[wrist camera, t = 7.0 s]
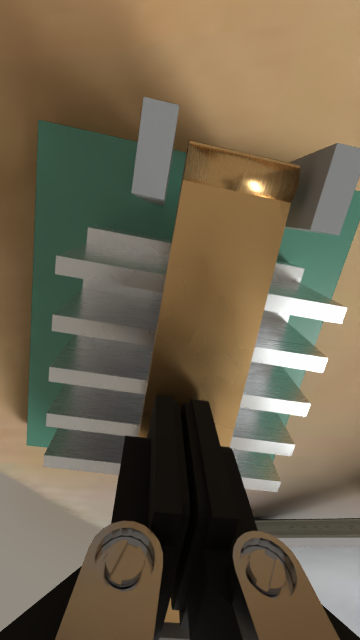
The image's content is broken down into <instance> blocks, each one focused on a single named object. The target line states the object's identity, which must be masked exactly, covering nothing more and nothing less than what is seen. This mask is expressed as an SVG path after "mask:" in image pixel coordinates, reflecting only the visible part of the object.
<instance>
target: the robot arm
mask: <svg viewBox="0 0 360 640" xmlns="http://www.w3.org/2000/svg"><path fill="white" fill-rule="evenodd" d="M170 598H171V607H172V610H179V620H180V629H189V636H190V640H360V638H359V637H358V636H357V635H356V634H355V633H354V632H352V631H351V630H350V629H349V628H348V627H347V626H346V625H344V624H343V623H342V622H341V621H340V620H339V619H338V618H336V617H335V616H334V615H333V614H332V613H331V612H330V611H328V610H327V609H326V608H325V607H324V606H323V605H322V604H321V603H320V601H319V599H318V597H317V595H316V593H315V591H314V589H313V587H312V586H311V584H310V582H309V580H308V578H307V576H306V574H305V572H304V570H303V568H302V567H301V565H300V563H299V561H298V560H297V558H296V557H295V555H294V554H293V552H292V551H291V550H290V549H289V548H288V547H287V546H286V545H285V544H284V543H283V542H282V541H280V540H279V539H277V538H276V537H274V536H273V535H270V534H268V533H265V532H262V531H258V530H257V526H256V523H255V520H254V517H253V514H252V510H251V507H250V504H249V501H248V497H247V494H246V491H245V488H244V485H243V481H242V478H241V475H240V472H239V468H238V465H237V462H236V459H235V456H234V453H233V450H232V449H231V448H230V447H224V446H220V442H219V438H218V434H217V430H216V427H215V423H214V419H213V415H212V411H211V408H210V404H209V401H204V400H196V399H191V400H190V402H189V403H184V404H183V407H182V412H180V403H179V402H175V401H174V398H173V396H165V395H157V394H156V396H155V400H154V405H153V410H152V416H151V421H150V427H149V432H148V437H147V438H143V437H134V436H125V440H124V446H123V452H122V459H121V465H120V471H119V478H118V484H117V490H116V497H115V503H114V509H113V516H112V522H111V524H110V525H109V526H107V527H105V528H103V529H102V530H101V531H100V532H99V533H98V534H97V535H96V536H95V537H94V539H93V541H92V543H91V545H90V546H89V548H88V551H87V554H86V556H85V560H84V562H83V565H82V566H81V567H80V568H79V569H77V570H76V571H75V572H74V573H72V574H71V575H70V576H69V577H68V578H66V579H65V580H64V581H62V582H61V583H60V584H59V585H58V586H56V587H55V588H54V589H53V590H52V591H50V592H49V593H48V594H47V595H45V596H44V597H43V598H42V599H40V600H39V601H38V602H37V603H35V604H34V605H33V606H32V607H30V608H29V609H28V610H27V611H25V612H24V613H23V614H22V615H21V616H19V617H18V618H17V619H16V620H14V621H13V622H12V623H11V624H9V625H8V626H7V627H6V628H4V629H3V630H2V631H1V632H0V640H159V639H160V636H161V632H162V628H163V624H164V621H165V617H166V613H167V609H168V606H169V602H170Z"/></svg>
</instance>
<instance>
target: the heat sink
mask: <svg viewBox="0 0 360 640" xmlns="http://www.w3.org/2000/svg"><path fill="white" fill-rule="evenodd" d="M171 241H172V240H170V239H165V238H160V237H155V236H149V235H144V234H139V233H134V232H129V231H123V230H118V229H113V228H108V227H103V226H92V227H88V232H87V244H84V245H82V246H79V247H77V248H74V249H71V250H69V251H66V252H64V253H61V254H59V255H56V264H55V274H58V275H64V276H69V277H75V278H81V279H83V287H82V288H81V289H80V290H79V291H78V292H77V293H76V294H75V295H74V296H72V297H71V298H70V299H69V300H68V301H67V302H66V303H65V304H64V305H63V306H61V307H60V308H59V309H58V310H57V311H56V312H55V313H54V314H53V315H52V331H56V332H62V333H69V334H74V335H73V336H72V337H71V339H70V340H69V341H68V343H67V344H66V345H65V347H64V348H63V349H62V351H61V352H60V353H59V355H58V356H57V357H56V359H55V360H54V361H53V363H52V364H51V365H50V367H49V381H50V382H57V383H64V385H63V386H62V388H61V390H60V392H59V393H58V395H57V397H56V398H55V400H54V402H53V403H52V405H51V407H50V408H49V410H48V412H47V416H46V426H47V427H56V428H57V430H56V432H55V434H54V436H53V438H52V440H51V442H50V444H49V446H48V448H47V450H46V452H45V454H44V466H43V467H50V468H59V469H69V470H78V471H87V472H96V473H105V474H114V475H119V471H120V465H121V459H122V452H123V446H124V440H125V436H134V437H138V432H139V426H140V420H141V415H142V409H143V403H144V397H145V391H146V386H147V380H148V374H149V368H150V362H151V357H152V351H153V345H154V339H155V333H156V328H157V322H158V316H159V310H160V305H161V299H162V293H163V287H164V281H165V276H166V270H167V264H168V258H169V252H170V247H171ZM304 270H305V269H304V268H302V267H299V266H297V265H294V264H292V263H289V262H285V261H280V260H277V261H276V265H275V269H274V273H273V277H272V281H271V285H270V288H269V292H268V296H267V300H266V304H265V308H264V312H263V316H262V320H261V324H260V328H259V332H258V336H257V340H256V344H255V348H254V352H253V356H252V360H251V364H250V368H249V372H248V376H247V380H246V384H245V388H244V392H243V396H242V400H241V404H240V408H239V412H238V416H237V420H236V424H235V428H234V431H233V435H232V439H231V443H230V448H231V449H232V450H233V453H234V456H235V459H236V462H237V465H238V468H239V472H240V475H241V478H242V481H243V485H244V488H245V489H252V490H262V491H271V492H277V491H278V489H279V486H280V484H281V480H280V478H279V476H278V473H277V471H276V469H275V466H274V464H273V462H272V459H271V457H270V455H269V454H276V455H285V456H291V455H292V452H293V449H294V447H295V443H294V442H293V440H292V438H291V436H290V435H289V433H288V431H287V429H286V427H285V426H284V424H283V422H282V420H281V419H280V417H279V415H278V413H283V414H291V415H298V416H305V417H306V415H307V413H308V410H309V407H310V405H311V404H310V402H309V401H308V400H307V398H306V397H305V396H304V394H303V393H302V392H301V390H300V389H299V388H298V386H297V385H296V384H295V383H294V381H293V380H292V379H291V377H290V376H289V375H288V373H287V372H286V371H285V369H284V368H283V367H289V368H296V369H302V370H309V371H315V372H322V373H323V371H324V368H325V365H326V363H327V360H328V358H327V357H326V356H325V355H324V354H322V353H321V352H320V351H319V350H318V349H317V348H316V347H315V346H314V345H312V344H311V343H310V342H309V341H308V340H307V339H306V338H305V337H303V336H302V335H301V334H300V333H299V332H298V331H297V330H296V329H294V328H293V327H292V326H291V325H290V324H289V323H288V319H289V316H290V315H294V316H300V317H306V318H312V319H318V320H323V321H329V322H335V323H342V321H343V318H344V315H345V313H346V310H347V307H345V306H343V305H341V304H339V303H337V302H335V301H333V300H331V299H330V298H328V297H326V296H324V295H322V294H320V293H318V292H316V291H314V290H312V289H310V288H308V287H306V286H305V285H303V284H301V283H300V282H301V279H302V276H303V273H304ZM282 366H283V367H282Z"/></svg>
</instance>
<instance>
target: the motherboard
mask: <svg viewBox="0 0 360 640" xmlns="http://www.w3.org/2000/svg"><path fill="white" fill-rule="evenodd" d="M178 111H179V105H177V104H173V103H168V102H164V101H160V100H156V99H152V98H148V97H144V98H143V106H142V114H141V121H140V129H139V137H138V142H136V141H132V140H127V139H123V138H118V137H114V136H109V135H105V134H100V133H96V132H91V131H87V130H82V129H78V128H73V127H69V126H64V125H60V124H55V123H51V122H46V121H42V120H38V146H37V173H36V201H35V228H34V256H33V284H32V311H31V339H30V367H29V394H28V422H27V445H29V446H38V447H47V448H48V446H49V444H50V442H51V440H52V438H53V436H54V434H55V432H56V430H57V428H56V427H47V426H46V416H47V412H48V410H49V408H50V407H51V405H52V403H53V402H54V400H55V398H56V397H57V395H58V393H59V392H60V390H61V388H62V386H63V385H64V383H57V382H50V381H49V367H50V365H51V364H52V363H53V361H54V360H55V359H56V357H57V356H58V355H59V353H60V352H61V351H62V349H63V348H64V347H65V345H66V344H67V343H68V341H69V340H70V339H71V337H72V336H73V335H74V334H69V333H62V332H56V331H52V315H53V314H54V313H55V312H56V311H57V310H58V309H59V308H60V307H61V306H63V305H64V304H65V303H66V302H67V301H68V300H69V299H70V298H71V297H72V296H74V295H75V294H76V293H77V292H78V291H79V290H80V289H81V288H82V287H83V279H81V278H75V277H69V276H64V275H58V274H55V264H56V255H59V254H61V253H64V252H66V251H69V250H71V249H74V248H77V247H79V246H82V245H84V244H87V232H88V227H92V226H103V227H108V228H113V229H118V230H123V231H129V232H134V233H139V234H144V235H149V236H155V237H160V238H165V239H170V240H172V235H173V229H174V223H175V218H176V212H177V206H178V200H179V194H180V189H181V182H182V176H183V170H184V164H185V159H186V154H187V153H185V152H181V151H176V150H173V149H174V142H175V134H176V127H177V119H178ZM289 163H291V164H295V165H299V166H300V180H299V185H298V188H297V191H296V194H295V196H294V198H293V200H292V202H291V205H290V209H289V213H288V217H287V221H286V225H285V229H284V233H283V237H282V241H281V245H280V249H279V253H278V257H277V260H280V261H285V262H289V263H292V264H294V265H297V266H299V267H302V268H304V269H305V270H304V273H303V276H302V279H301V282H300V283H301V284H303V285H305V286H306V287H308V288H310V289H312V290H314V291H316V292H318V293H320V294H322V295H324V296H326V297H328V298H330V299H332V296H333V293H334V291H335V288H336V285H337V282H338V280H339V277H340V274H341V271H342V268H343V266H344V263H345V260H346V257H347V255H348V252H349V249H350V246H351V243H352V241H353V238H354V235H355V232H356V230H357V227H358V224H359V221H360V191H356V190H355V188H356V185H357V182H358V179H359V176H360V148H357V147H352V146H348V145H344V144H340V143H336V144H333V145H331V146H329V147H326V148H324V149H321V150H319V151H316V152H314V153H311V154H309V155H306V156H304V157H301V158H299V159H297V160H294V161H292V162H289ZM288 323H289V324H290V325H291V326H292V327H293V328H294V329H296V330H297V331H298V332H299V333H300V334H301V335H302V336H303V337H305V338H306V339H307V340H308V341H309V342H310V343H311V344H312V345H314V346H315V343H316V341H317V338H318V335H319V332H320V330H321V327H322V324H323V320H318V319H312V318H306V317H300V316H294V315H290V316H289V319H288ZM282 367H283V366H282ZM283 368H284V369H285V371H286V372H287V373H288V375H289V376H290V377H291V379H292V380H293V381H294V383H295V384H296V385H297V386H298V388H300V385H301V382H302V380H303V377H304V374H305V371H306V370H302V369H296V368H289V367H283ZM278 415H279V417H280V419H281V420H282V422H283V424H284V426H285V427H286V424H287V421H288V418H289V416H290V414H283V413H278ZM269 455H270V457H271V459H272V462H273V460H274V457H275V455H276V454H269Z"/></svg>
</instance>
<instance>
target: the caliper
mask: <svg viewBox="0 0 360 640" xmlns="http://www.w3.org/2000/svg"><path fill="white" fill-rule="evenodd" d="M255 523H256V526H257V530H258V531H262V532H265V533H268V534H270V535H273V536H274V537H276V538H277V539H279V540H280V541H282V542H283V543H284V544H285V545H286V546H287V547H360V518H344V519H266V520H255Z"/></svg>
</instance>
